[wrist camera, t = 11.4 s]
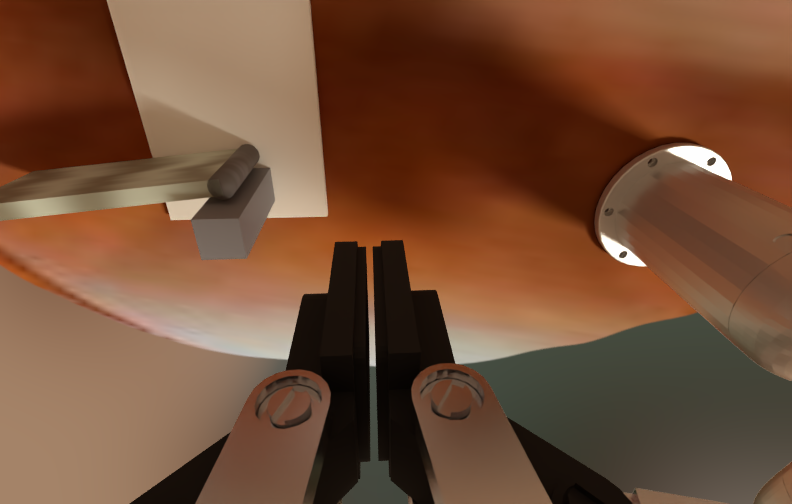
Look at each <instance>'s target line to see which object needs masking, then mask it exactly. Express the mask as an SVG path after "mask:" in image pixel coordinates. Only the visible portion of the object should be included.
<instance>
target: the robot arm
mask: <svg viewBox="0 0 792 504" xmlns="http://www.w3.org/2000/svg"><path fill="white" fill-rule="evenodd" d="M594 224H595V233H596V236H597V238H598V241H599V243H600V244H601V246H602V247H603V249H604V250H605V251H606V252H608V253H609V255H610V256H612V257H613V258H614V259H616V260H617V261H619V262H622V263H625V264H628V265H633V266H647V267H648V268H649V269H650V270H652V271H653V272H654V273H655V274H656V275H657V276H658V277H659V278H661V279H662V280H663V281H664V282H665V283H666V284H667V285H668V286H669V287H671V288H672V289H673V290H674V291H675V292H676V293H677V294H678V295H679V296H681V297H682V298H683V299H684V300H685V301H686V302H687V303H688V304H689V305H691V306H692V307H693V308H694V309H695V310H696V311H697V312H698V313H699V314H701V315H702V316H703V317H704V318H705V319H706V320H707V321H708V322H709V323H711V324H712V325H713V326H714V327H715V328H716V329H717V330H718V331H719V332H721V333H722V334H723V335H724V336H725V337H726V338H727V339H729V340H730V341H731V342H732V343H733V344H734V345H735V346H736V347H738V348H739V349H740V350H741V351H742V352H743V353H744V354H745V355H747V356H748V357H749V358H750V359H751V360H753V361H754V362H755V363H756V364H758V365H759V366H761V367H763V368H764V369H766V370H767V371H769V372H771V373H773V374H775V375H778V376H780V377H782V378H785V379H787V380H790V381H792V208H791V207H789V206H787V205H784V204H782V203H780V202H778V201H776V200H773V199H771V198H769V197H767V196H765V195H763V194H760V193H758V192H756V191H754V190H752V189H749V188H747V187H745V186H743V185H741V184H738V183H736V182H734V181H732V177H731V172H730V170H729V167H728V165H727V163H726V162H725V161H724V160H723V158H722V157H721V156H720V155H719V154H717V153H715V152H714V151H712V150H711V149H708V148H706V147H703V146H701V145H697V144H692V143H671V144H666V145H661V146H659V147H656V148H654V149H651V150H648V151H646V152H645V153H643V154H641V155H639V156H637V157H636V158H634V159H633V160H632V161H630V162H629V163H628V164H626V165H625V166H624V167H623V168H622V169H621V170H620V171H619V172H618V173H617V174H616V175H615V176H614V177H613V178H612V180H611V181H610V182H609V184H608V185H607V186H606V188H605V189H604V191H603V193H602V195H601V197H600V199H599V202H598V205H597V208H596V212H595V220H594ZM373 273H374V310H375V347H376V379H377V380H376V382H377V420H378V454H379V461H385V460H386V461H387V460H389V477H391V481H392V482H394V483H395V484H396V485H397V486H398V487H399V488H401V489H402V490H403V491H404V492H405V493H406V494H408V502H409V504H728V503H722V502H716V501H711V500H705V499H699V498H692V497H687V496H681V495H675V494H669V493H663V492H657V491H651V490H646V489H639V488H635V489H634V492H633V494H631V493H625V492H622V491H621V490H620V489H619V488H618V487H616V486H615V485H614V484H612V483H611V482H610V481H609V480H607V479H606V478H604V477H603V476H601V475H599V474H598V473H596V472H594V471H593V470H591V469H590V468H588V467H587V466H585V465H583V464H582V463H580V462H579V461H577V460H575V459H574V458H572V457H570V456H569V455H567V454H566V453H564V452H562V451H561V450H559V449H558V448H556V447H554V446H553V445H551V444H550V443H548V442H546V441H545V440H543V439H541V438H540V437H538V436H537V435H535V434H533V433H532V432H530V431H529V430H527V429H525V428H524V427H522V426H521V425H519V424H517V423H516V422H514V421H512V420H511V419H509V418H508V417H506V415H505V413H504V411H503V409H502V407H501V406H500V404H499V402H498V400H497V398H496V396H495V394H494V392H493V390H492V389H491V387H490V385H489V384H488V383H487V382H486V380H485V379H484V377H483V376H481V375H480V374H479V373H477V372H476V371H474V370H473V369H470V368H468V367H466V366H464V365H459V364H455V361H454V357H453V353H452V349H451V345H450V341H449V337H448V333H447V329H446V325H445V321H444V317H443V314H442V310H441V306H440V302H439V298H438V294H437V291H436V290H418V291H411V288H410V282H409V276H408V270H407V263H406V257H405V251H404V245H403V240H394V241H381V246H380V247H373ZM369 377H370V374H369V318H368V290H367V263H366V247H358V244H357V241H355V242H335V247H334V254H333V261H332V268H331V276H330V283H329V290H328V293H325V294H304V295H303V297H302V301H301V305H300V310H299V314H298V318H297V323H296V327H295V332H294V336H293V341H292V345H291V349H290V354H289V358H288V363H287V367H286V371H283V372H279V373H276V374H274V375H272V376H270V377H268V378H266V379H265V380H263V381H262V382H261V383H260V384H259V385H258V386H256V387H255V388H254V390H253V391H252V393H251V394H250V395H249V397H248V399H247V401H246V403H245V405H244V407H243V409H242V411H241V413H240V415H239V417H238V419H237V421H236V423H235V425H234V427H233V429H232V431H231V432H230V433H229V434H227V435H226V436H224V437H223V438H222V439H220V440H219V441H217V442H216V443H215V444H213V445H212V446H210V447H209V448H208V449H206V450H205V451H203V452H202V453H200V454H199V455H198V456H196V457H195V458H193V459H192V460H191V461H189V462H188V463H186V464H185V465H184V466H182V467H181V468H179V469H178V470H176V471H175V472H174V473H172V474H171V475H169V476H168V477H167V478H165V479H164V480H162V481H161V482H160V483H158V484H157V485H155V486H154V487H152V488H151V489H150V490H148V491H147V492H145V493H144V494H143V495H141V496H140V497H138V498H137V499H136V500H134V501H133V502H131V503H130V504H342V498H343V497H344V496H345V495H346V494H347V493H348V492H349V490H350V489H352V487H353V486H354V485H355V484H356V483H357V482H358V479H360V462H368V461H370V383H369V382H370V378H369ZM753 504H792V462H791V463H789V464H788V465H787V466H785V467H784V468H783V469H782V470H781V471H779V472H778V473H777V474H776V475H774V476H773V477H772V478H771V479H770V480H769V481H768V482H767V483H766V484H765V485H764V486H763V487H762V488H761V490H760V491H759V492H758V494H757V496H756V497H755V500H754V503H753Z"/></svg>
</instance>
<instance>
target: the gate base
mask: <svg viewBox="0 0 792 504" xmlns="http://www.w3.org/2000/svg"><path fill="white" fill-rule="evenodd" d="M107 4H108V7H109V10H110V14H111V17H112V21H113V24H114V27H115V31H116V34H117V38H118V41H119V44H120V48H121V51H122V55H123V58H124V62H125V65H126V68H127V72H128V75H129V79H130V82H131V85H132V89H133V92H134V96H135V99H136V102H137V106H138V109H139V113H140V116H141V120H142V123H143V126H144V130H145V133H146V137H147V140H148V143H149V147H150V150H151V154H152V157H153V158H158V157H167V156H176V155H185V154H194V153H203V152H212V151H221V150H230V149H238V148H239V147H240V146H241V145H244V144H250V145H252V146H254V147H255V148H256V149H257V150H258V152H259V155H260V158H259V161H258V162H257V164H256V165H255V166H254V168H253V169H252V170H251V172H250V173H249V175H248V176H247V177H246V179H245V180H244V181H243V183H242V184H241V185H240V187H239V188H238V189H237V191H236V192H235V194H234V195H233V196H232V197H231V198H230V199H227V200H219V199H217V198H215V197H209V198H200V199H191V200H182V201H173V202H166V205H167V208H168V212H169V215H170V219H171V220H191V222H192V226H193V230H194V233H195V237H196V241H197V245H198V248H199V252H200V256H201V260H214V259H247V257H248V255H249V253H250V251H251V249H252V247H253V245H254V243H255V241H256V239H257V237H258V235H259V232H260V230H261V228H262V226H263V224H264V222H265V220H266V218H285V217H327V216H328V205H327V193H326V181H325V170H324V158H323V146H322V134H321V122H320V110H319V98H318V86H317V75H316V63H315V51H314V39H313V27H312V15H311V3H310V0H107Z"/></svg>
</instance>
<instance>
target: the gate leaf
mask: <svg viewBox="0 0 792 504" xmlns="http://www.w3.org/2000/svg"><path fill="white" fill-rule="evenodd" d="M259 158H260V155H259V152H258V150H257V149H256V148H255V147H254V146H252V145H250V144H244V145H241V146H240V147H239V148H238V149H230V150H221V151H212V152H203V153H194V154H185V155H176V156H167V157H158V158H149V159H140V160H131V161H122V162H113V163H104V164H95V165H86V166H77V167H68V168H59V169H50V170H40V171H33V172H31V173H29V174H27V175H25V176H23V177H20V178H18V179H16V180H14V181H12V182H10V183H8V184H6V185H4V186H1V187H0V221H2V220H11V219H20V218H29V217H38V216H47V215H56V214H65V213H74V212H83V211H92V210H101V209H110V208H119V207H128V206H137V205H146V204H155V203H164V202H173V201H182V200H191V199H200V198H209V197H215V198H217V199H219V200H227V199H230V198H231V197H232V196H233V195H234V194H235V192H236V191H237V189H238V188H239V187H240V185H241V184H242V183H243V181H244V180H245V179H246V177H247V176H248V175H249V173H250V172H251V170H252V169H253V168H254V166H255V165H256V164H257V162H258V161H259Z"/></svg>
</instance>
